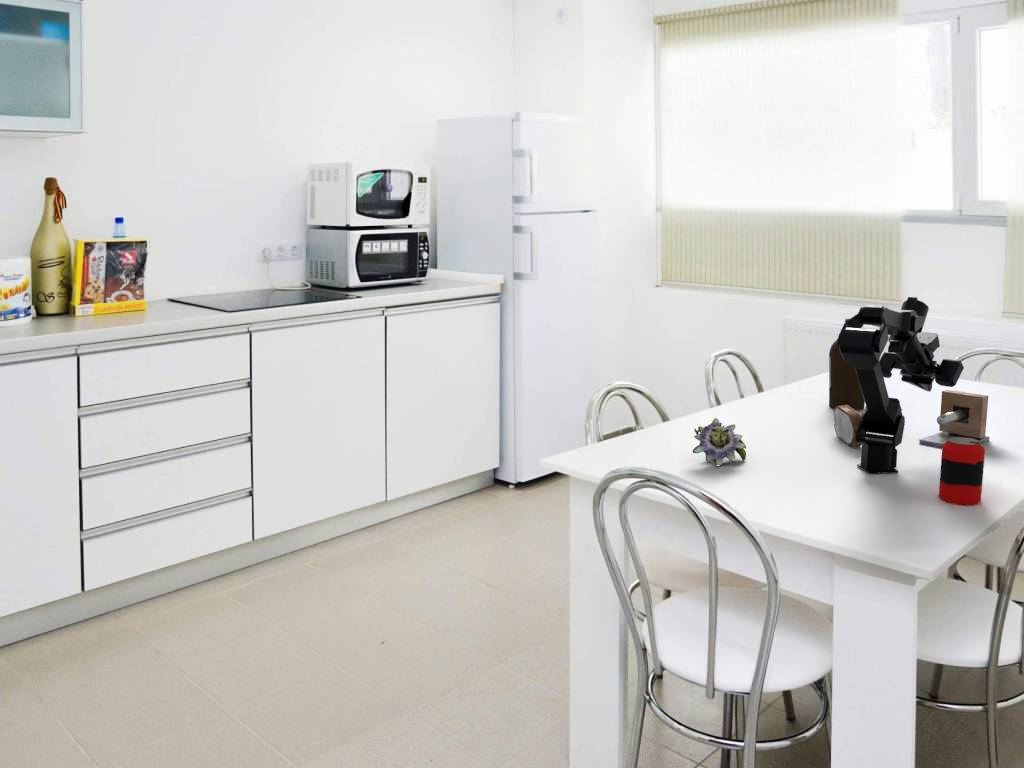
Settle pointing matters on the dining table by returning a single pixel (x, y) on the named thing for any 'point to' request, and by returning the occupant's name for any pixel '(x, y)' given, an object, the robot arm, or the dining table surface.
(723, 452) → the passion flower
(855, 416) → the tin
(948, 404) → the wooden block on rod
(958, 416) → the stand
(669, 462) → the dining table surface
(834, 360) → the olive oil
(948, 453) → the soda can
